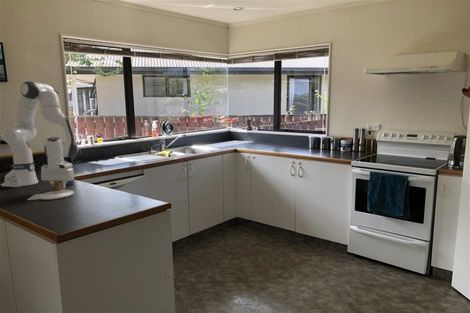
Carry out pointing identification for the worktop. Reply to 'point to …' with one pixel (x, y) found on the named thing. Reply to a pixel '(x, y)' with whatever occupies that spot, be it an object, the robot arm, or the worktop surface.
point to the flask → (69, 183)
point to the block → (57, 186)
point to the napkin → (34, 197)
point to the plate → (56, 194)
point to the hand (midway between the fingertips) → (58, 187)
